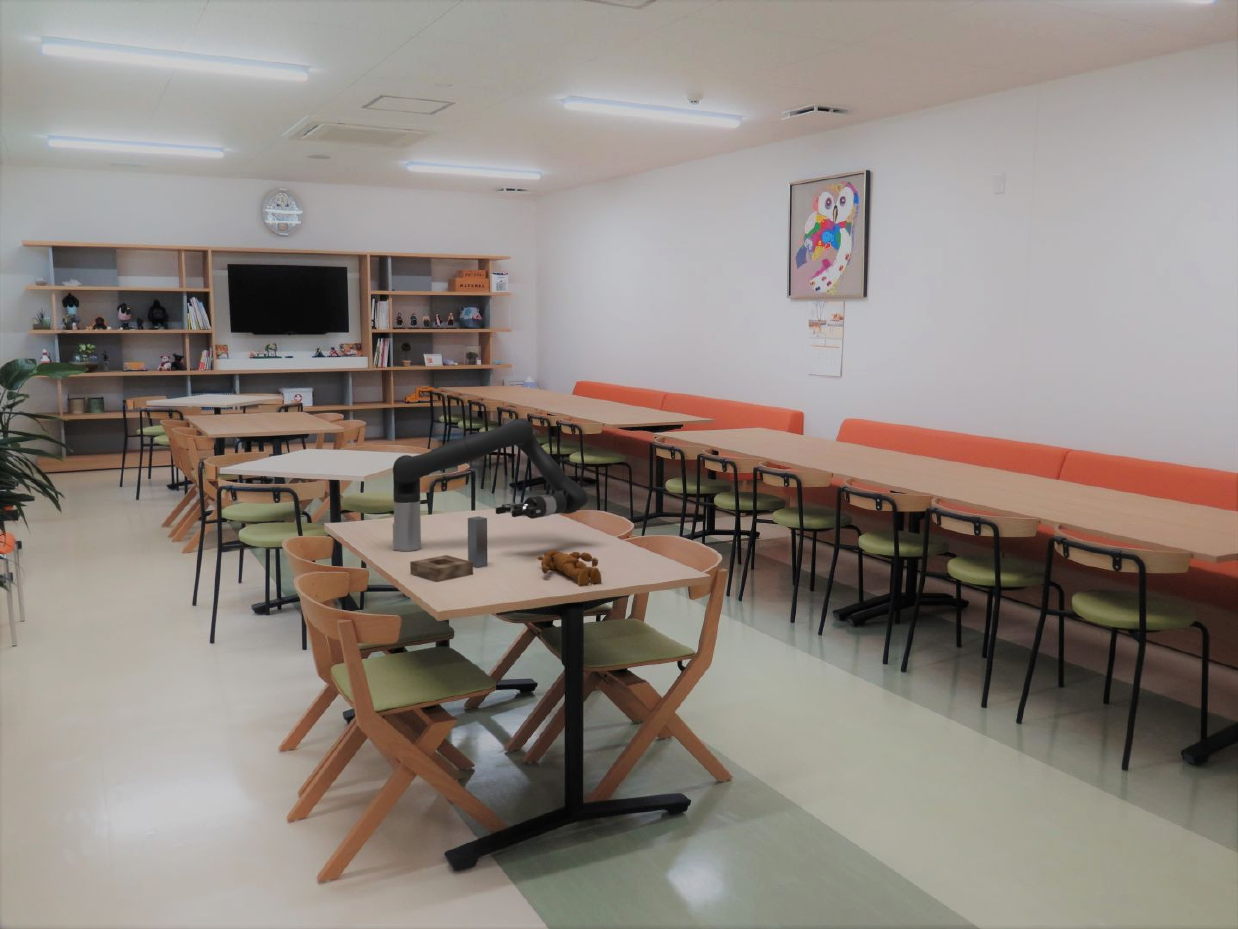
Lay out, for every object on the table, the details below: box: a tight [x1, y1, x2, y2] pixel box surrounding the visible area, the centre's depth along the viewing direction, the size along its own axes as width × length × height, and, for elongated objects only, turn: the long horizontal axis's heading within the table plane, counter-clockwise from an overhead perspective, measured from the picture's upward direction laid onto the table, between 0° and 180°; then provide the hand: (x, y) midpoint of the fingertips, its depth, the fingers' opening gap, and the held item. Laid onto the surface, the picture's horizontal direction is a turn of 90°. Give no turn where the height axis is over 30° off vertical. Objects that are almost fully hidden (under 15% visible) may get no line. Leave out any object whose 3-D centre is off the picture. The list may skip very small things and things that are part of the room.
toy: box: [537, 549, 603, 587], centre depth 312 cm, size 20×7×30 cm
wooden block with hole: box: [409, 554, 474, 583], centre depth 312 cm, size 14×14×4 cm
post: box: [467, 516, 488, 569], centre depth 323 cm, size 4×4×16 cm
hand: (504, 512), depth 330 cm, fingers open, 8 cm apart
